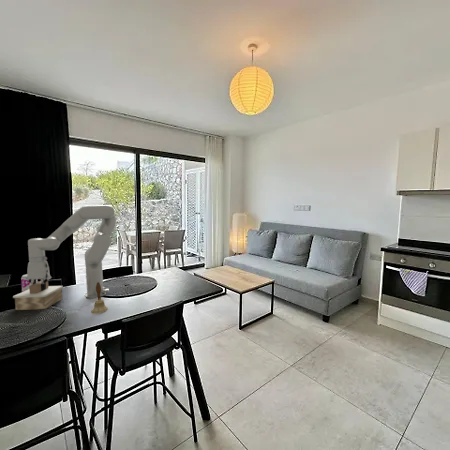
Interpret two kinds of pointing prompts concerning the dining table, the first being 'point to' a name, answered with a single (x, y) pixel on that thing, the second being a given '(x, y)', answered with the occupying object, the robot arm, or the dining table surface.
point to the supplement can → (25, 283)
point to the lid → (38, 291)
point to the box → (38, 301)
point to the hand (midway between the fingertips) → (39, 289)
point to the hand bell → (99, 302)
